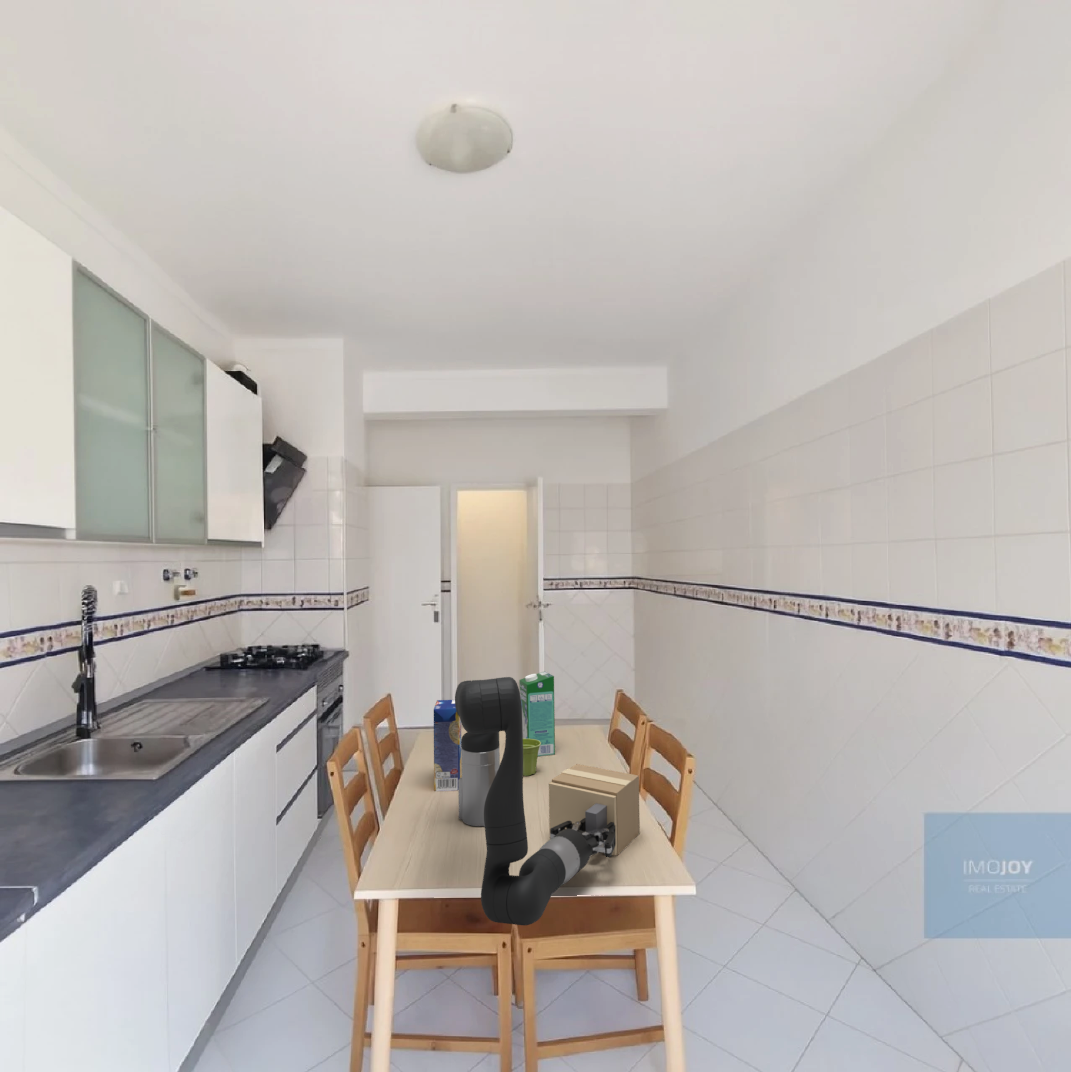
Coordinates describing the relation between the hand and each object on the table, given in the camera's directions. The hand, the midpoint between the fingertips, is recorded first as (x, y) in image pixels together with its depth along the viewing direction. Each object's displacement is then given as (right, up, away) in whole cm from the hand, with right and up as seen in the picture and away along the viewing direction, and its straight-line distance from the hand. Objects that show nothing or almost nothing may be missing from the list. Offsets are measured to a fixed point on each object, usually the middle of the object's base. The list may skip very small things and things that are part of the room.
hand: (600, 824), depth 132 cm
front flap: (-5, -6, +1) cm, 8 cm away
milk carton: (-13, -9, +69) cm, 71 cm away
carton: (0, -7, +9) cm, 11 cm away
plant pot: (-17, -8, +50) cm, 53 cm away
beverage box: (-38, -8, +42) cm, 58 cm away
